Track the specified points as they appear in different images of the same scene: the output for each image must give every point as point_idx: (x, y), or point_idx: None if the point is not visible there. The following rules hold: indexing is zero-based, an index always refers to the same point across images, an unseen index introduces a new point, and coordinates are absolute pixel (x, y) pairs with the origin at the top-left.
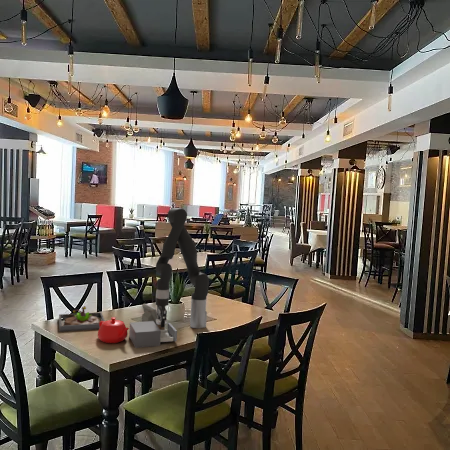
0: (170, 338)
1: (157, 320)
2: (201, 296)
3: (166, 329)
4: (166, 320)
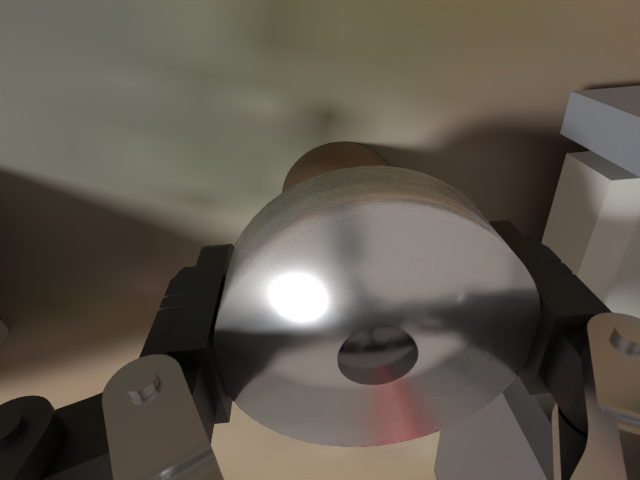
0: None
1: (420, 427)
2: None
3: (617, 185)
4: (506, 246)
